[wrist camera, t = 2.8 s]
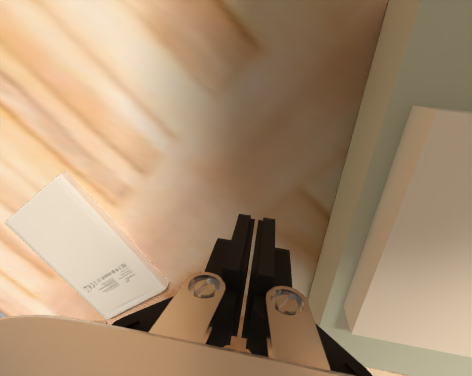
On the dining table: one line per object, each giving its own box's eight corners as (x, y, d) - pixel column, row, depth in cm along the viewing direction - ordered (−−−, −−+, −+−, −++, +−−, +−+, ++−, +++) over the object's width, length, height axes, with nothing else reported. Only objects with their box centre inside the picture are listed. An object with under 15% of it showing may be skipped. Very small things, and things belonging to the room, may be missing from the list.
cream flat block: (412, 105, 12) (437, 110, 10) (617, 127, 11) (685, 137, 9) (343, 305, 16) (351, 334, 15) (482, 331, 16) (509, 364, 14)
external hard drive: (73, 167, 21) (172, 278, 24) (19, 215, 24) (113, 309, 27) (58, 174, 19) (165, 291, 22) (1, 224, 22) (103, 322, 25)
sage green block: (390, -7, 13) (432, -38, 10) (711, 15, 12) (900, -13, 8) (305, 309, 22) (310, 355, 18) (485, 343, 21) (529, 400, 17)
